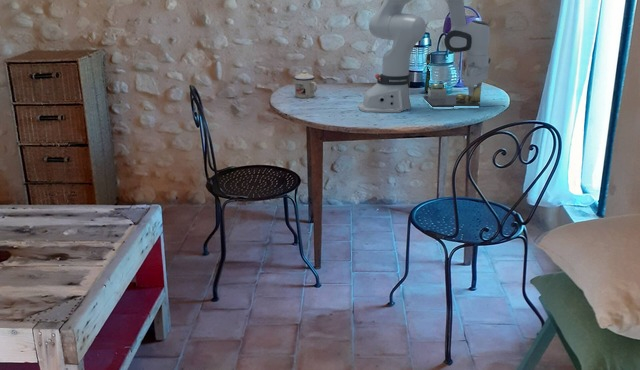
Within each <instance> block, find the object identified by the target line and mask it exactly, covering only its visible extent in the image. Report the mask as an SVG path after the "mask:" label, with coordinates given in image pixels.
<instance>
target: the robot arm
mask: <svg viewBox="0 0 640 370" xmlns="http://www.w3.org/2000/svg"><path fill="white" fill-rule="evenodd" d="M464 1H465V0H445V2H446V4H447V6H448V10H449V17H450V31H448V32H447V33H446V35H445V36H444V41H443V42H444V47H445V48H446V49H447V50H448V51H449V52H451V53H456V54H457V53H462V52H466V57H465V58H466V60H465V65H466V66H467V67H466V68H465V70H464V73H463V79H462V86H463V87H465V88H467V89H468V95H469V96H473V95H474V90H473V88H474V86H479V87H481V88H482V85H483V82H484V81H486V80H488V76H489V71H490V64H491V62H492V59H491V57H490V55H489V46H490V42H491V27H490V25H489V24H488V23H487V22H485V21H481V20H477V19H476V20H471V21H470V22H469V23H468V22H467V17H466V9H465V3H464ZM410 2H412V0H383V2H382V4H381V6H380V8H379V9H378V10H377V11H376V12H375V13H374V14H372V15H371V17H370V19H369V22H368V31H369V32H370V33H371V35H372V36H373V37H375V38H378V39H380V40H387V41H388V40H389V41H392V42H393V43H392V47H391V48H390V49H389V50H387V51H385V53H384V54H383V55H382V63H381V64H382V66H381V67H382V71H381V73H380V74H379V73H375V74H374V78H375V79H376V80H377V82H376V84H373V86H371V87H370V88H369V89H367V90H366V91H365V93H364V95H363V100H362V102H359V103H358V105H357V108H358V109H359V110H360V111H362V112H367V113H401V111H402V112H403V110H404V111H407V110H406V109H408V110H410V109H412V105H411V104H412V103H411V99H410V86H411V84H410V83H411V81H410V80H411V77H410V59H411V54H412V52H413V49H414V47H415V46H416V44H417V43H418V42H420V40H422V39H423V37H424V36H425V34H426V31H427V25H426V22H425V20H424V18H423V17H422V16H418V15H416V14H414V13H413V14H412V13H403V9H404V8H405V6H406V4H408V3H410ZM409 108H410V109H409Z"/></svg>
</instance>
